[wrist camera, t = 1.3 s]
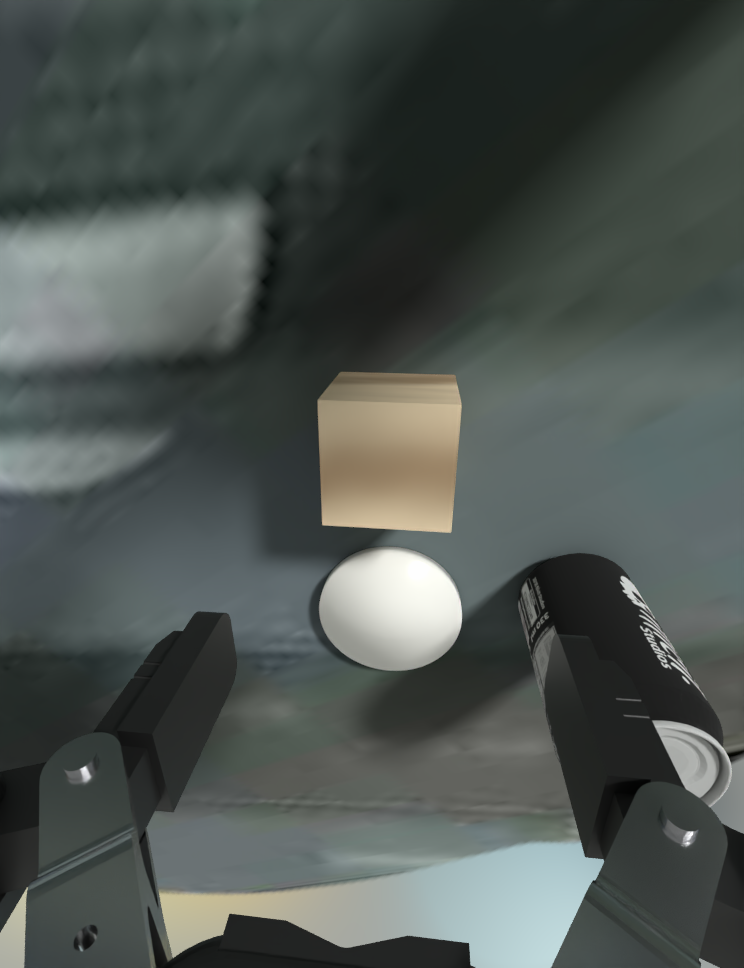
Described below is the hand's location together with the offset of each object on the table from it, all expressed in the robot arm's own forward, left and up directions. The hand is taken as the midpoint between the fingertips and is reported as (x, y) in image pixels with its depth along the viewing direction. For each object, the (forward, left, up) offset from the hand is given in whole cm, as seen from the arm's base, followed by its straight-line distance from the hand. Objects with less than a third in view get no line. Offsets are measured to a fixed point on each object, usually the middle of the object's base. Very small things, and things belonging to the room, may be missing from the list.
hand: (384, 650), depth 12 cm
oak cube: (-1, -1, -16) cm, 17 cm away
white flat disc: (+11, -1, -16) cm, 20 cm away
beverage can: (+9, +10, -17) cm, 22 cm away
